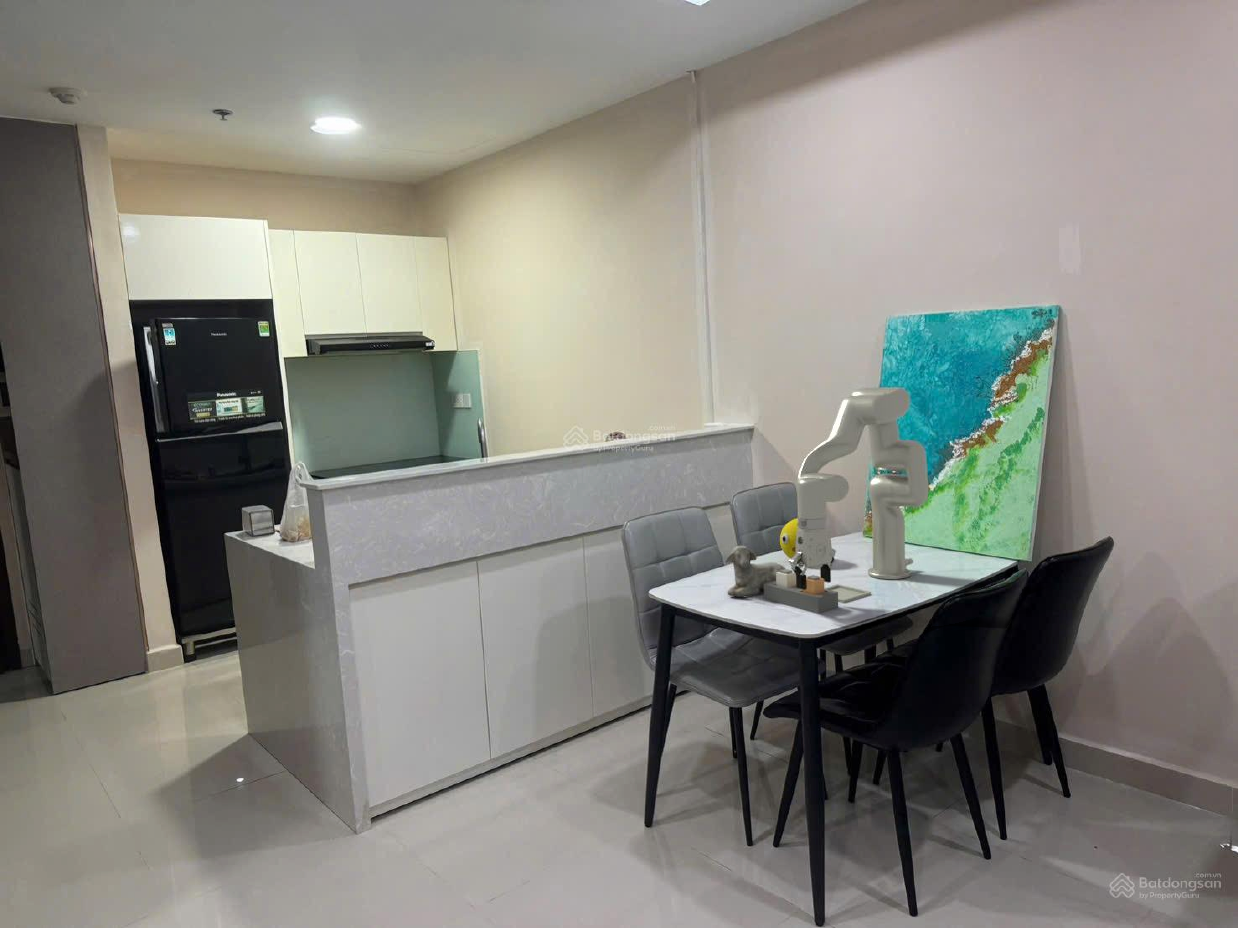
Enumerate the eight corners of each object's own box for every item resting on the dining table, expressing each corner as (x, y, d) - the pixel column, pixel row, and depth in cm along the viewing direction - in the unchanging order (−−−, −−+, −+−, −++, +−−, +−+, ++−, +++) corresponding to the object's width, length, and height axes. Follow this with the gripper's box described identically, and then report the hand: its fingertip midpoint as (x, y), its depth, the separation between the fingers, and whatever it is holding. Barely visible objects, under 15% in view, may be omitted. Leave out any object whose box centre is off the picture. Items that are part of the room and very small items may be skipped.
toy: (777, 567, 271) (775, 523, 269) (783, 556, 286) (782, 513, 285) (823, 568, 266) (822, 523, 264) (827, 557, 282) (826, 514, 280)
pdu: (783, 595, 239) (782, 564, 238) (838, 609, 222) (837, 577, 221) (764, 601, 234) (763, 569, 233) (818, 616, 218) (817, 582, 217)
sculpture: (722, 596, 241) (720, 546, 240) (772, 582, 253) (770, 535, 252) (748, 603, 233) (746, 552, 231) (799, 589, 245) (797, 540, 243)
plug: (824, 603, 223) (824, 576, 223) (814, 606, 221) (814, 579, 220) (813, 600, 227) (813, 574, 226) (803, 603, 225) (802, 576, 224)
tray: (837, 588, 243) (837, 584, 243) (871, 596, 233) (871, 591, 233) (810, 596, 236) (810, 592, 236) (843, 605, 226) (843, 600, 226)
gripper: (800, 530, 213) (802, 594, 215) (844, 520, 223) (845, 581, 225) (779, 526, 219) (781, 588, 221) (822, 517, 229) (824, 576, 231)
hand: (813, 585), depth 223 cm, fingers open, 9 cm apart
